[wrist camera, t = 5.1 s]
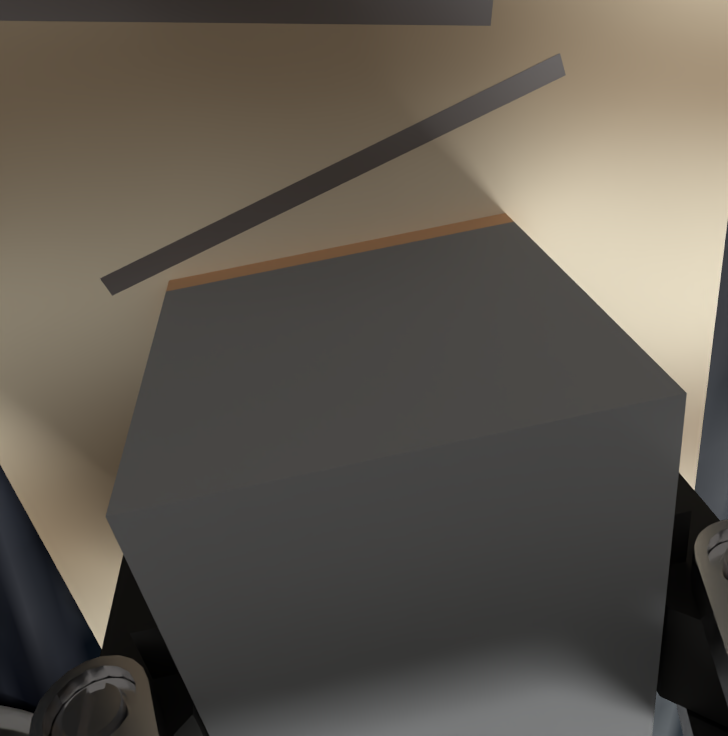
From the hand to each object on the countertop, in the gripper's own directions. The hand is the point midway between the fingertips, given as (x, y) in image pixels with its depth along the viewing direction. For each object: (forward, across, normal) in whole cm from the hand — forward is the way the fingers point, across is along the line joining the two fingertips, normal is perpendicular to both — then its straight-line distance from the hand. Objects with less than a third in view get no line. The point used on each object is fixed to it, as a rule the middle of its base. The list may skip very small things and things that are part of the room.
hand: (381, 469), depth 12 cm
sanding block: (+1, 0, 0) cm, 1 cm away
